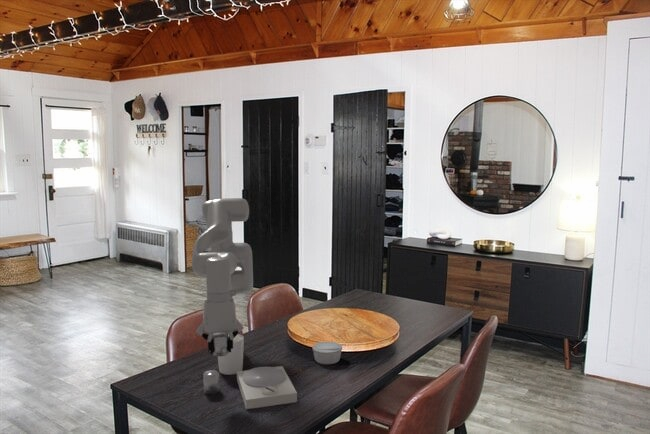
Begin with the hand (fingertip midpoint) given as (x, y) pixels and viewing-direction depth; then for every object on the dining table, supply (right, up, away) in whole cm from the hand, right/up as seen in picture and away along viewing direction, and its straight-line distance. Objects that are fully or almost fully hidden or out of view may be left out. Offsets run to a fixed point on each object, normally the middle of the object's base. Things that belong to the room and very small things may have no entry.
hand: (220, 351), depth 167 cm
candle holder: (-1, -13, +22) cm, 26 cm away
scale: (+14, -14, +6) cm, 21 cm away
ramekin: (+34, -12, +31) cm, 48 cm away
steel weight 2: (0, -1, 0) cm, 1 cm away
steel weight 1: (-4, -14, +6) cm, 16 cm away
